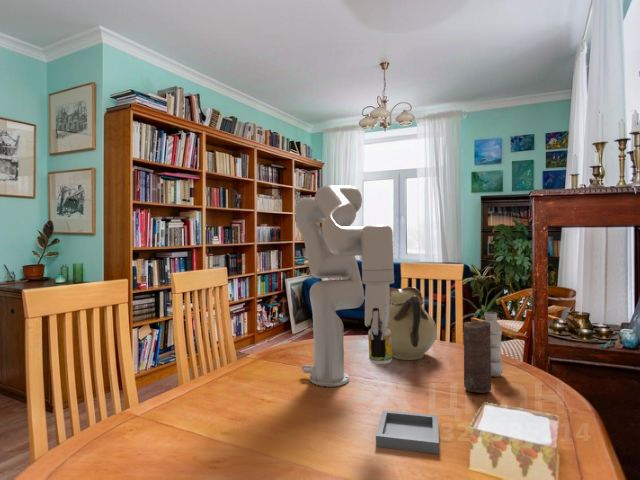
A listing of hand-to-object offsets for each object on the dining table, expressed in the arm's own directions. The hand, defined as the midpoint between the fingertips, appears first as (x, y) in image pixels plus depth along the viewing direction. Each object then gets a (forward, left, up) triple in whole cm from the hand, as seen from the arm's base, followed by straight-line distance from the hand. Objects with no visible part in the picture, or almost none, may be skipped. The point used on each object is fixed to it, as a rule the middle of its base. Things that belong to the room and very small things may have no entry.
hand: (380, 352), depth 93 cm
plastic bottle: (+30, +42, -18) cm, 55 cm away
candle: (+24, +27, -18) cm, 41 cm away
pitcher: (+3, +58, -18) cm, 61 cm away
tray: (+6, -3, -18) cm, 19 cm away
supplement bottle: (0, 0, -2) cm, 2 cm away
